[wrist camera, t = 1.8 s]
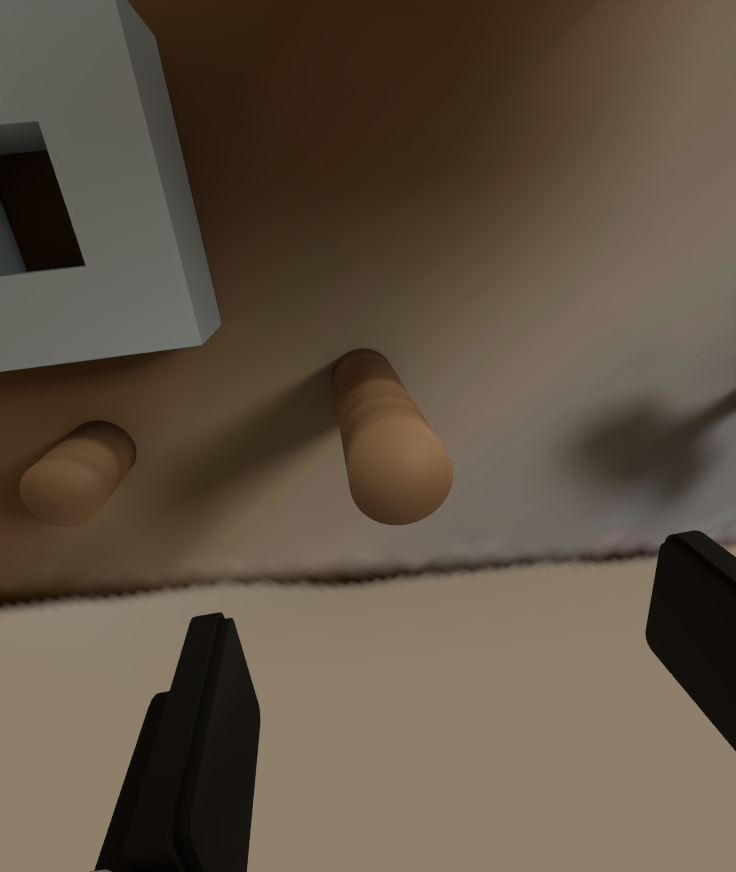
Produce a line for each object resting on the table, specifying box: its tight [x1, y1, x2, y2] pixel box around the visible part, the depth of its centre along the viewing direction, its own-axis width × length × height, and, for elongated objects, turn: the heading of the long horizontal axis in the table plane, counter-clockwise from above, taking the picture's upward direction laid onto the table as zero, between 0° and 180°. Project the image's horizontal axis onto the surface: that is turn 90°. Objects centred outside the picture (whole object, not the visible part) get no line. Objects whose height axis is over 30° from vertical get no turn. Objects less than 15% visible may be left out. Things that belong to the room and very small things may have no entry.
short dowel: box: [20, 421, 136, 526], centre depth 24 cm, size 4×4×5 cm
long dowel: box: [332, 349, 453, 525], centre depth 21 cm, size 4×4×12 cm
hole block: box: [0, 0, 222, 372], centre depth 20 cm, size 12×12×5 cm
